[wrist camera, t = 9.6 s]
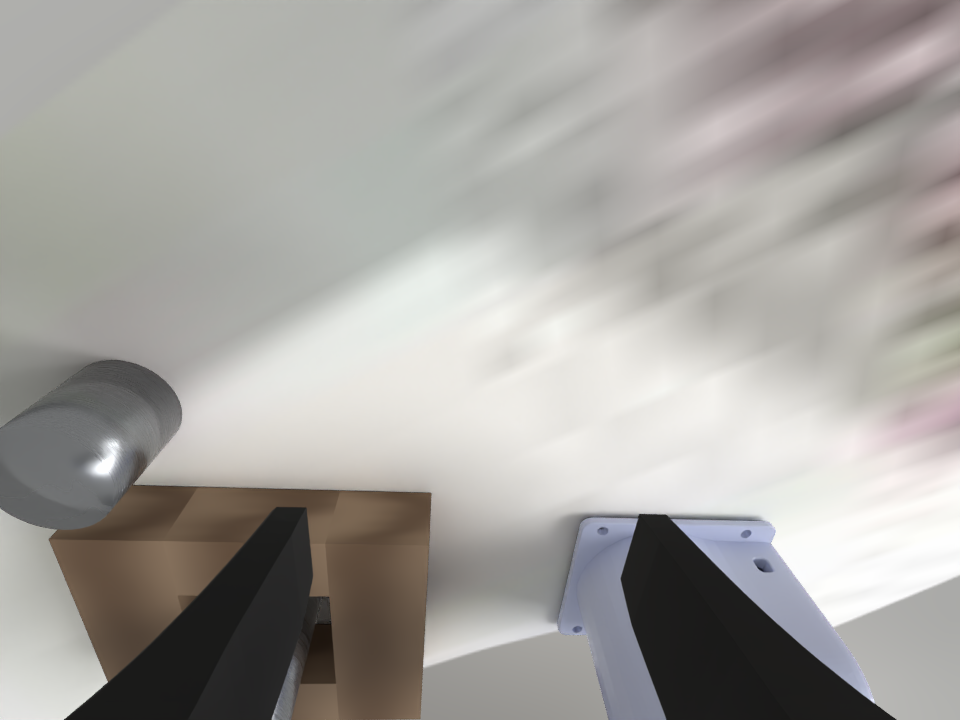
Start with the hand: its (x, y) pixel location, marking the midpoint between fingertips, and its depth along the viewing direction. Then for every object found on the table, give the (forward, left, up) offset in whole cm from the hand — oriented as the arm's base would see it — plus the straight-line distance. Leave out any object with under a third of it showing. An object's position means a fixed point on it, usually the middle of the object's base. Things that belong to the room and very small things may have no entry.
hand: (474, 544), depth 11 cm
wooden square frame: (+8, +13, -9) cm, 18 cm away
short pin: (+13, +3, -10) cm, 16 cm away
